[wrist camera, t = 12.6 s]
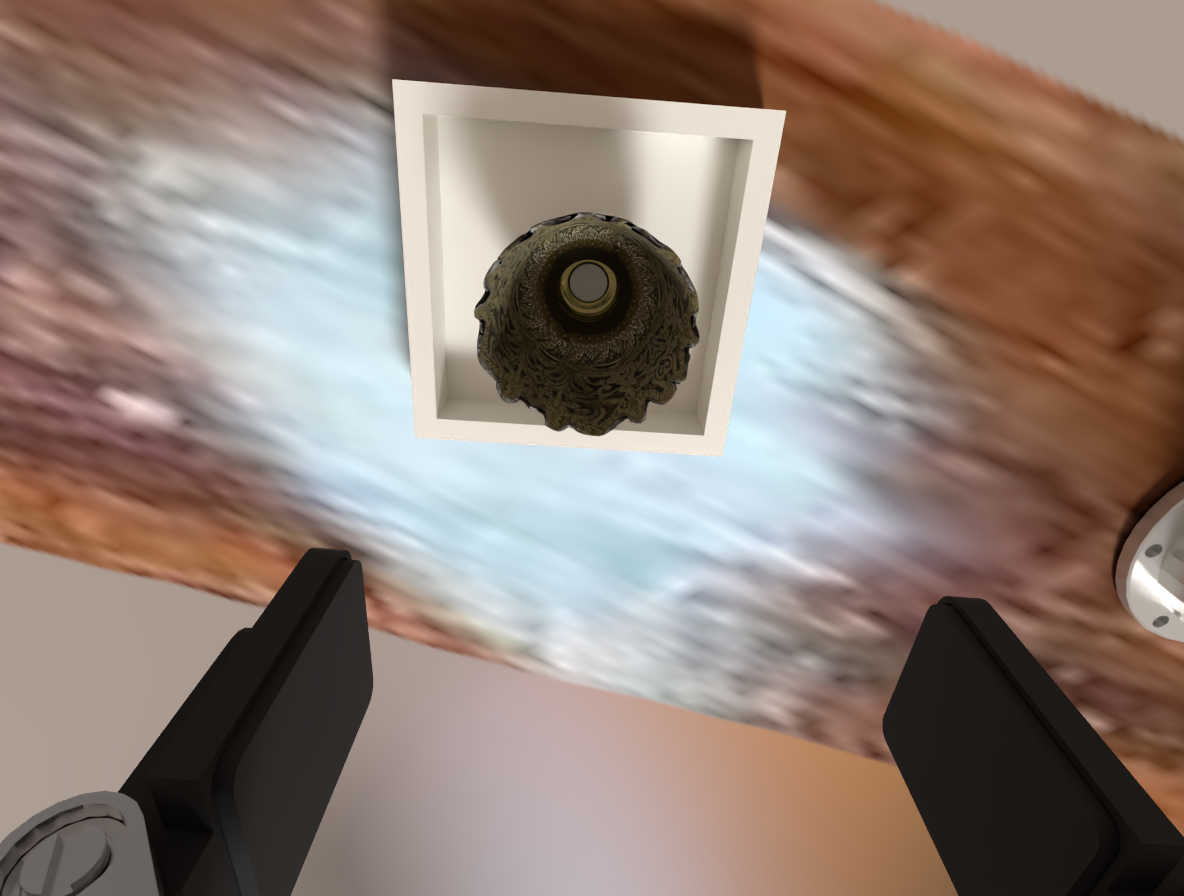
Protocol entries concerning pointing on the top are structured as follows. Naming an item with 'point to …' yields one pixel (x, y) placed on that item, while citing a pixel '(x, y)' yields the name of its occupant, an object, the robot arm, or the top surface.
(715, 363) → the tray
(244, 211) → the top surface
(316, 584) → the robot arm
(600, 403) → the ornate bronze bell
